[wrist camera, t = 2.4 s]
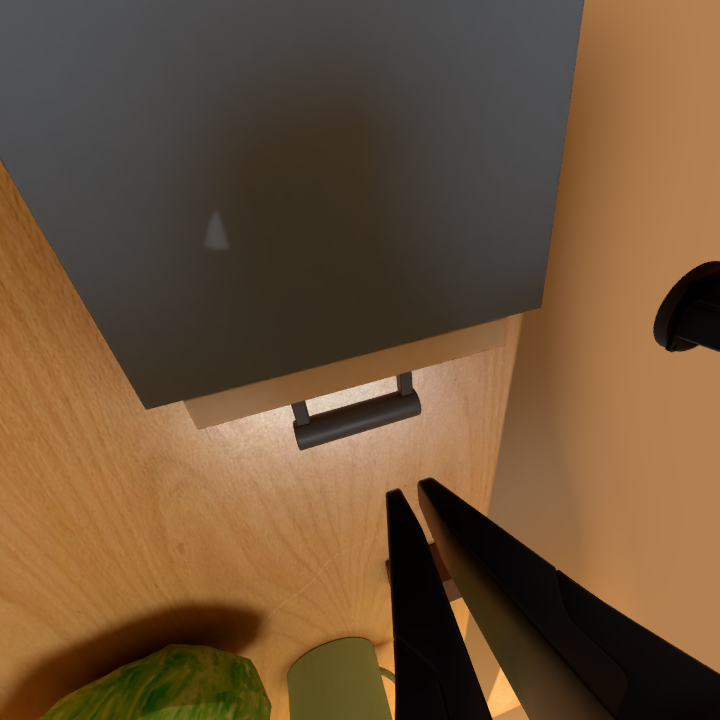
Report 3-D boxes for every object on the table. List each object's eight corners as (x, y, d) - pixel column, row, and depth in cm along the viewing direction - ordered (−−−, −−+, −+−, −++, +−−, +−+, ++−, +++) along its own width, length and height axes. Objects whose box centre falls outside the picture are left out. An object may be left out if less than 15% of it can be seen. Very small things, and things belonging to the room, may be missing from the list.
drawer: (425, 359, 21) (497, 430, 15) (244, 408, 19) (239, 514, 13) (406, -52, 12) (563, -307, 6) (69, -40, 10) (-221, -399, 4)
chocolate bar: (385, 561, 31) (399, 600, 28) (460, 533, 33) (480, 567, 30) (389, 583, 33) (402, 622, 30) (459, 555, 35) (479, 590, 32)
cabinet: (424, 259, 19) (541, 308, 11) (197, 308, 17) (145, 411, 9) (407, -152, 12) (704, -831, 4) (7, -161, 10) (-1076, -1687, 2)
